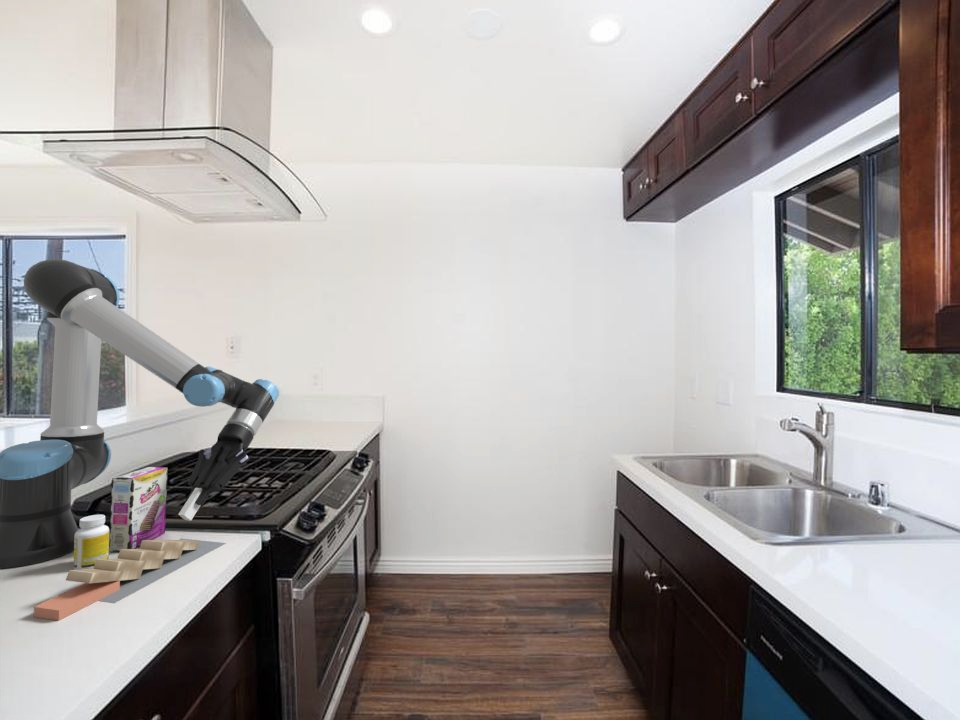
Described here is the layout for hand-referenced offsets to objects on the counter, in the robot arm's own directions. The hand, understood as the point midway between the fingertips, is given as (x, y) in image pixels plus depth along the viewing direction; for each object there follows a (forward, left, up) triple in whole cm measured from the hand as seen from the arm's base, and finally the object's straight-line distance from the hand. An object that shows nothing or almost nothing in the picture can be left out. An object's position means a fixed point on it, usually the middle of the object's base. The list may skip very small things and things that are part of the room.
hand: (184, 517), depth 98 cm
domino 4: (-1, -3, -7) cm, 7 cm away
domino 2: (-4, -12, -6) cm, 14 cm away
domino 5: (0, +1, -7) cm, 7 cm away
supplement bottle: (-15, -5, -8) cm, 18 cm away
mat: (-3, -7, -8) cm, 11 cm away
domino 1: (-6, -16, -6) cm, 18 cm away
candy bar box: (-12, +6, -8) cm, 16 cm away
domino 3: (-3, -7, -7) cm, 10 cm away
